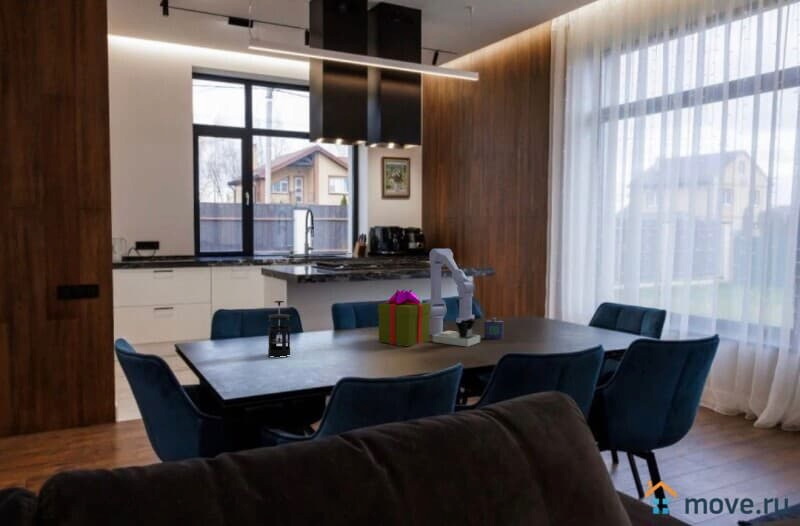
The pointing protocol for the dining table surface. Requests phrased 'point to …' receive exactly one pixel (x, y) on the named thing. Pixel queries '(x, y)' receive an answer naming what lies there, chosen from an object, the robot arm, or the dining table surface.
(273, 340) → the french press
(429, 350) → the dining table surface
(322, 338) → the dining table surface
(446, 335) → the egg box
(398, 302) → the gift box
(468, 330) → the tin
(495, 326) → the flask
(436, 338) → the tote
